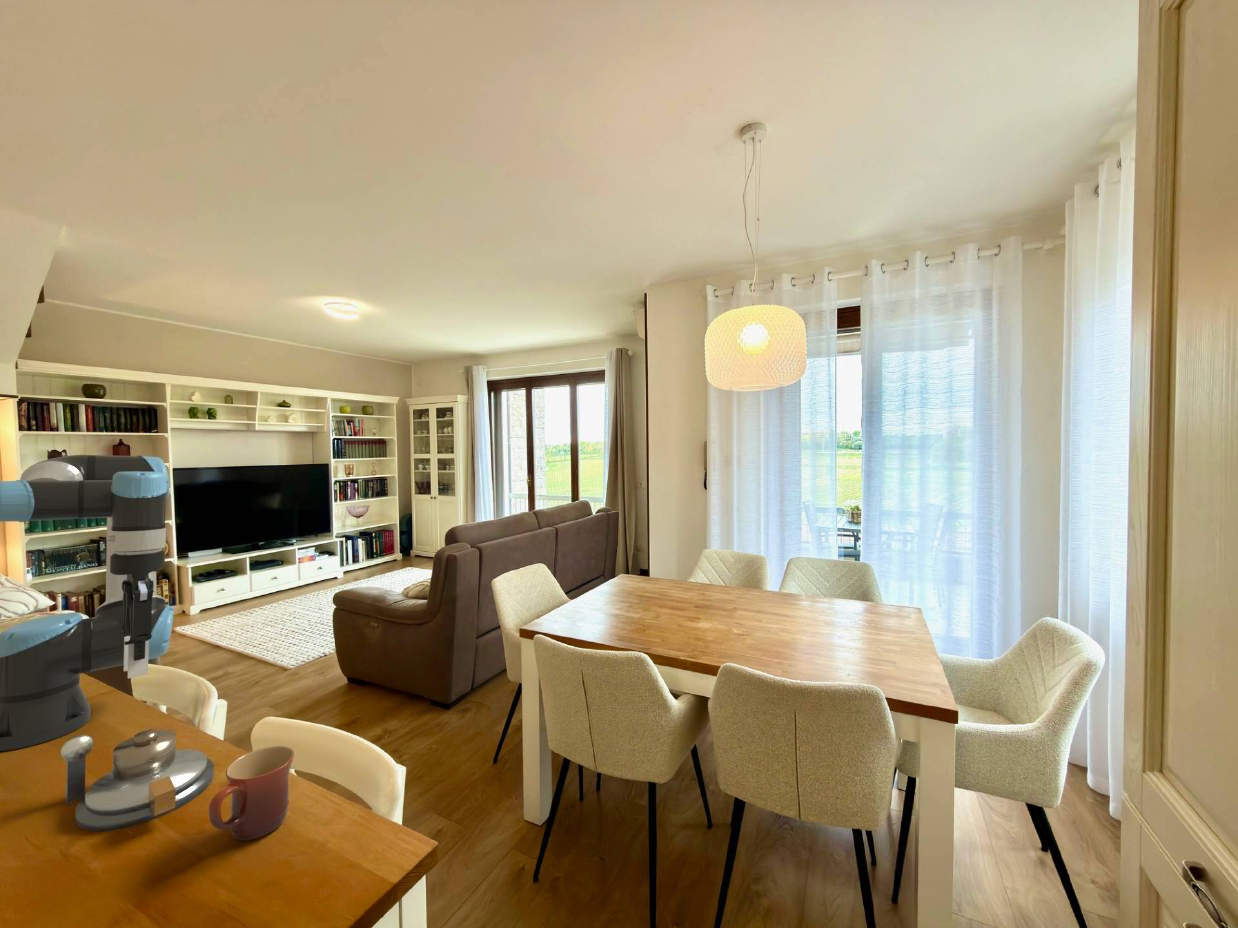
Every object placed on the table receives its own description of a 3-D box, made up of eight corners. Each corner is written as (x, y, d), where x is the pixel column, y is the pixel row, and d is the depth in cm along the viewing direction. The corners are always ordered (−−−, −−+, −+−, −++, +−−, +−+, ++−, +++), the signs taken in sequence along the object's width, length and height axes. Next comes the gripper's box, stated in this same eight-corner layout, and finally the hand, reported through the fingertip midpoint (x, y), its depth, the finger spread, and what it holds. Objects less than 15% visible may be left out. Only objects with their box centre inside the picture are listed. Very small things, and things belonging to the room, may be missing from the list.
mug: (262, 802, 82) (263, 742, 82) (306, 811, 80) (307, 749, 80) (185, 859, 70) (187, 788, 70) (235, 870, 68) (236, 797, 68)
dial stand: (58, 801, 81) (60, 736, 81) (90, 790, 84) (91, 728, 84) (59, 808, 79) (61, 743, 79) (92, 797, 82) (93, 733, 82)
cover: (109, 766, 85) (110, 735, 85) (170, 746, 92) (171, 717, 92) (116, 785, 81) (116, 752, 81) (179, 762, 87) (180, 732, 87)
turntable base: (70, 798, 82) (70, 789, 82) (200, 752, 95) (200, 745, 95) (80, 848, 71) (81, 838, 71) (225, 789, 85) (225, 780, 85)
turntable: (80, 787, 82) (80, 764, 82) (195, 747, 94) (195, 728, 94) (94, 845, 70) (95, 819, 70) (225, 791, 82) (225, 769, 82)
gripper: (104, 548, 96) (101, 666, 96) (117, 559, 85) (114, 692, 85) (156, 543, 102) (153, 654, 102) (174, 554, 91) (171, 678, 91)
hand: (135, 671), depth 93 cm, fingers open, 4 cm apart
